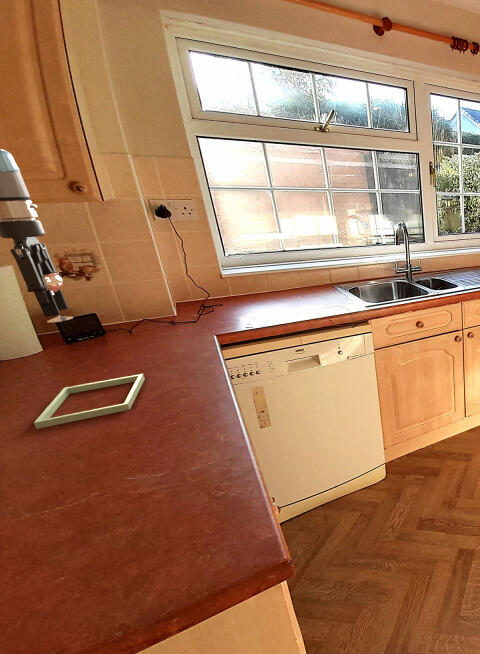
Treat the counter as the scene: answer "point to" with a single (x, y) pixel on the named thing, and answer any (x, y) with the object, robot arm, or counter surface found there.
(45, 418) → the green rectangular frame
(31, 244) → the robot arm
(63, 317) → the wineglass
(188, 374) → the counter surface
